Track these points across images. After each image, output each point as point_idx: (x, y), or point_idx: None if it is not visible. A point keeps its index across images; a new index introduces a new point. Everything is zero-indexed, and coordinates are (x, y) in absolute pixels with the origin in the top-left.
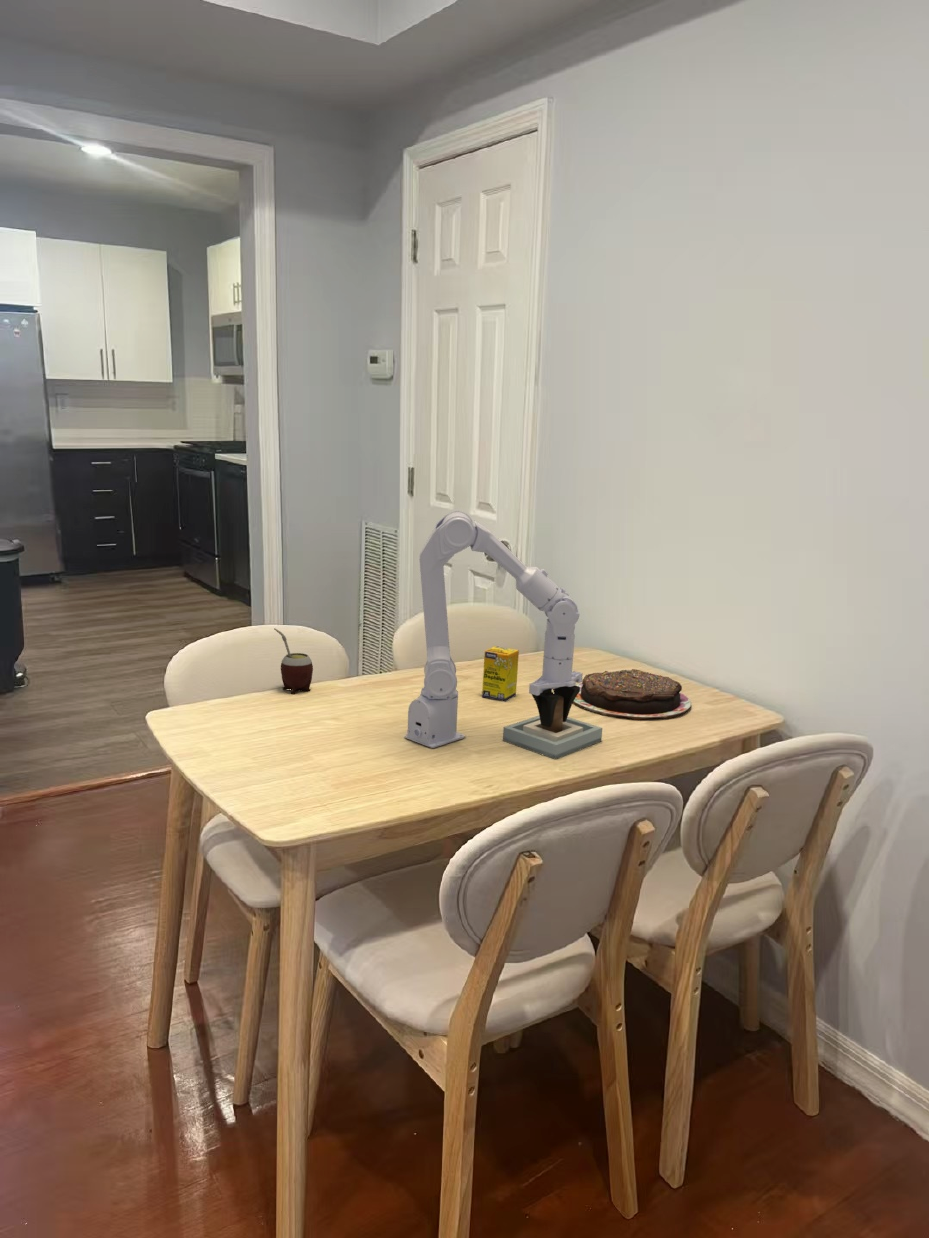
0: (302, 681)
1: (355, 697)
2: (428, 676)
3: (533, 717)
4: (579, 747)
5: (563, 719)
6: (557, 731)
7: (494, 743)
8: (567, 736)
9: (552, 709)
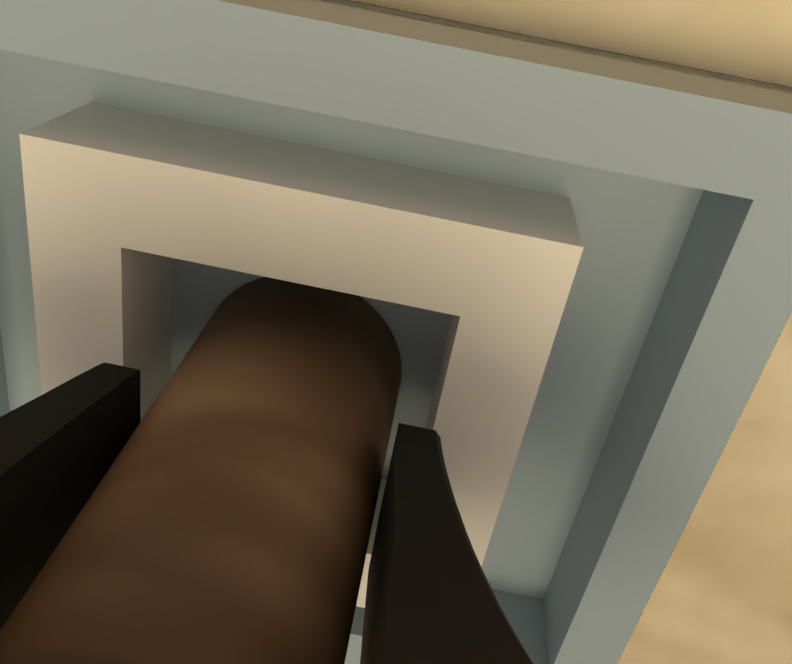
0: None
1: None
2: None
3: None
4: (348, 2)
5: (125, 396)
6: (334, 336)
7: (666, 635)
8: (366, 188)
9: (458, 598)
